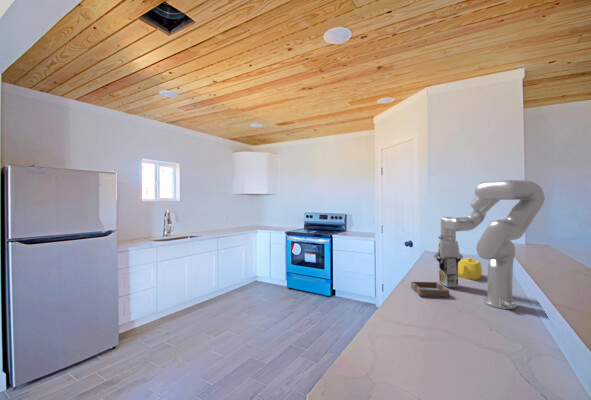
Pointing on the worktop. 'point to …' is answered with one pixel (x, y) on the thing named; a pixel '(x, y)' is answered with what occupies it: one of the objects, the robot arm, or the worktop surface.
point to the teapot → (469, 269)
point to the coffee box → (449, 272)
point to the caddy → (430, 289)
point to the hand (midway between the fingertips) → (448, 269)
